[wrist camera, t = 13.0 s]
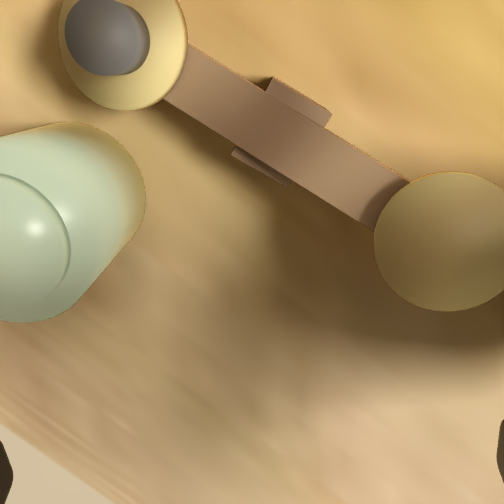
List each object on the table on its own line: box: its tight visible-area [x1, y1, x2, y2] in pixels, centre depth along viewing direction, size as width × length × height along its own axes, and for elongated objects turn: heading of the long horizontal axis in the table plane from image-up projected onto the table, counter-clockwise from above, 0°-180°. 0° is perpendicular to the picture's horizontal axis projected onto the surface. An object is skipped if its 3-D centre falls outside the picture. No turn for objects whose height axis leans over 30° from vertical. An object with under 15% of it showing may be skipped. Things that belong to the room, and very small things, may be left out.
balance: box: [58, 0, 504, 312], centre depth 16 cm, size 17×5×6 cm, turn 61°
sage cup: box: [0, 122, 146, 323], centre depth 17 cm, size 6×6×7 cm
